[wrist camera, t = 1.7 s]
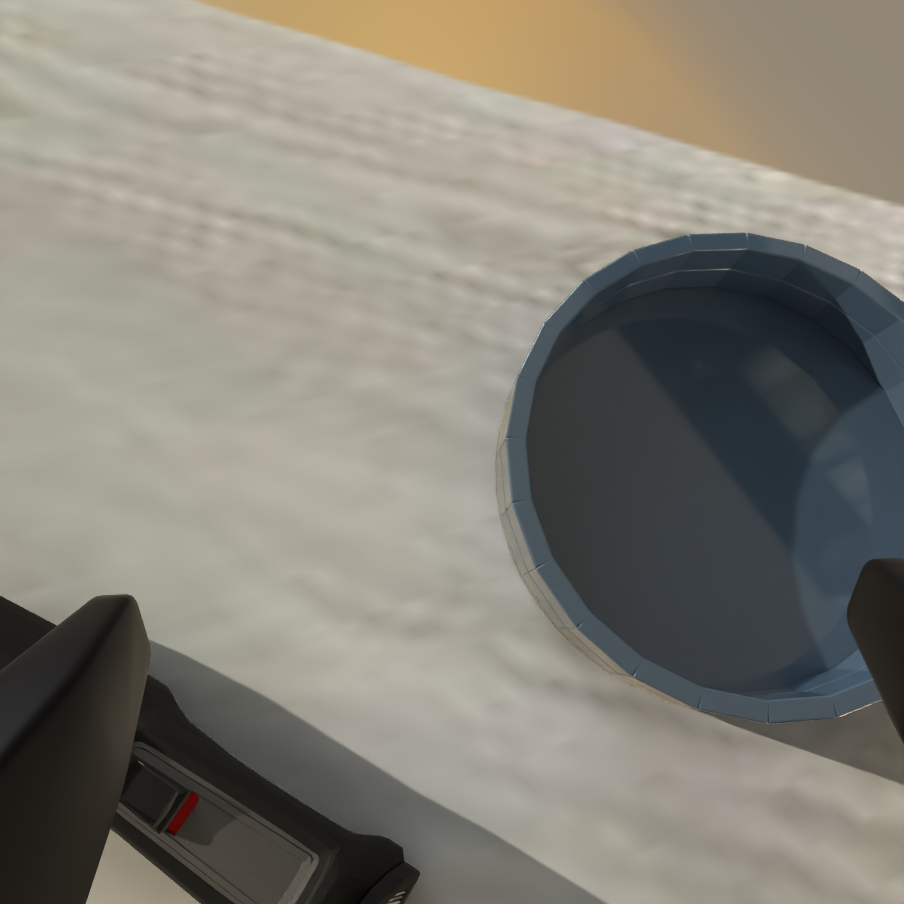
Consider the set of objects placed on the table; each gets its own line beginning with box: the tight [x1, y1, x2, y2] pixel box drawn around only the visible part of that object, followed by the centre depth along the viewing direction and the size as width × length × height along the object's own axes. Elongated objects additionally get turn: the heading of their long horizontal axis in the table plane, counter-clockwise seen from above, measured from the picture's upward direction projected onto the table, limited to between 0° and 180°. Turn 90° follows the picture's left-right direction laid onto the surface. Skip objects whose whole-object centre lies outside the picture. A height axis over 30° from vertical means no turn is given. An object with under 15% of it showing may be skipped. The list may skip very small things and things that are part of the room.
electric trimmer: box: [0, 596, 420, 904], centre depth 19 cm, size 4×16×3 cm, turn 57°
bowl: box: [496, 233, 904, 724], centre depth 22 cm, size 14×14×3 cm
